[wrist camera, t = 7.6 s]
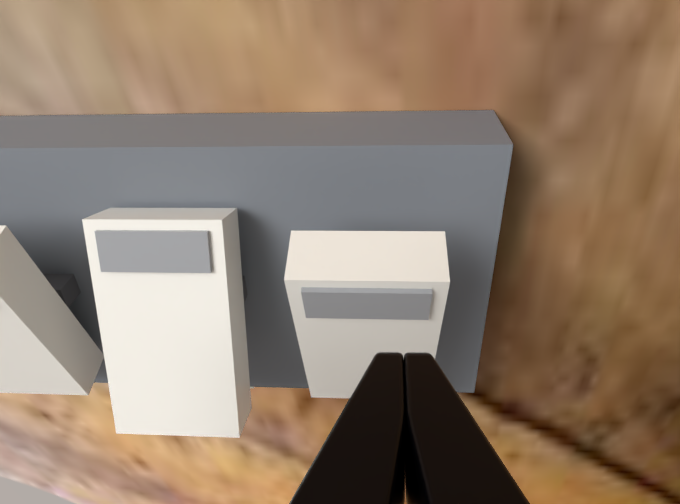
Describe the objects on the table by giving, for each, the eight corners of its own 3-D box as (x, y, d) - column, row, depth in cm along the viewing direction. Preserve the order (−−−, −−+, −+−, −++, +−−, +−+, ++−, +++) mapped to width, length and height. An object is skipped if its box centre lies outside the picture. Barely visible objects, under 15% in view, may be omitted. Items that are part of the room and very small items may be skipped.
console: (463, 342, 22) (477, 415, 19) (23, 333, 24) (-33, 399, 21) (493, 109, 17) (520, 157, 14) (-83, 117, 18) (-183, 161, 15)
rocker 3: (424, 358, 19) (427, 404, 18) (315, 355, 19) (310, 401, 18) (444, 231, 13) (450, 287, 12) (291, 230, 14) (283, 284, 12)
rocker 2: (251, 408, 18) (238, 440, 16) (138, 404, 18) (114, 436, 16) (237, 207, 16) (220, 221, 14) (110, 207, 16) (79, 220, 14)
